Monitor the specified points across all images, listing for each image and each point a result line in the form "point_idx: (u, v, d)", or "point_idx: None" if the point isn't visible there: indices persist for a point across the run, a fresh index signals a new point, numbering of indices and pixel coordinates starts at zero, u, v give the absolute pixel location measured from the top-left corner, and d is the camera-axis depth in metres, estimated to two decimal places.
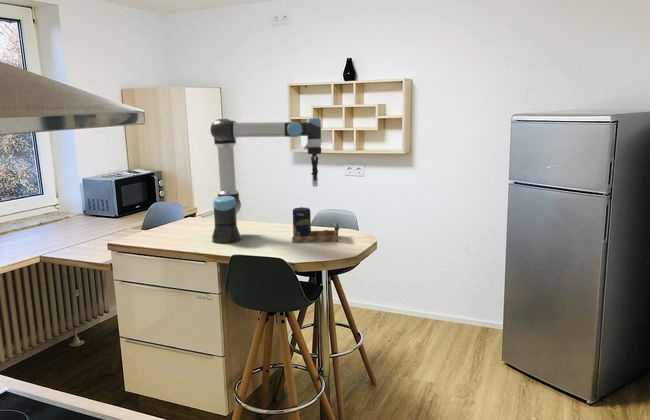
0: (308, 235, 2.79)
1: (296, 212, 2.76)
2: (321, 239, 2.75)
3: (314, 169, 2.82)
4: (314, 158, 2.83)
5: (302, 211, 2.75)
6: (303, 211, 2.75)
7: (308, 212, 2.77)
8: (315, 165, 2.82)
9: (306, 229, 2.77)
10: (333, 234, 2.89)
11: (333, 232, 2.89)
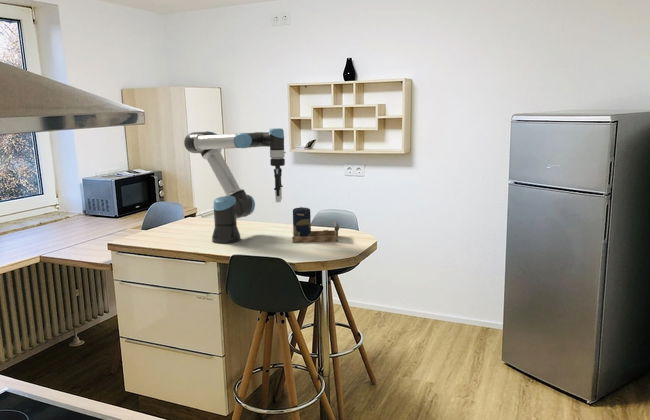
0: (308, 235, 2.79)
1: (296, 212, 2.76)
2: (321, 239, 2.75)
3: (276, 184, 2.69)
4: (276, 172, 2.69)
5: (302, 211, 2.75)
6: (303, 211, 2.75)
7: (308, 212, 2.77)
8: (277, 180, 2.69)
9: (306, 229, 2.77)
10: (333, 234, 2.89)
11: (333, 232, 2.89)
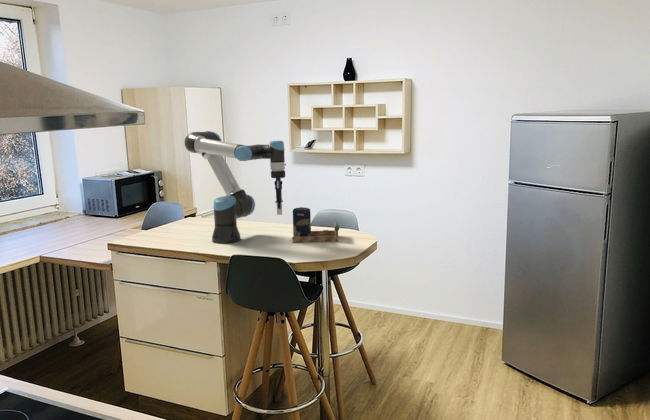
0: (308, 235, 2.79)
1: (296, 212, 2.76)
2: (321, 239, 2.75)
3: (278, 198, 2.74)
4: (277, 187, 2.71)
5: (302, 211, 2.75)
6: (303, 211, 2.75)
7: (308, 212, 2.77)
8: (278, 194, 2.73)
9: (306, 229, 2.77)
10: (333, 234, 2.89)
11: (333, 232, 2.89)
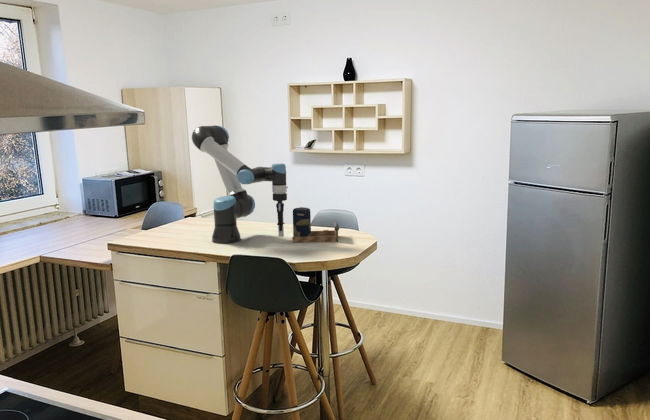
0: (308, 235, 2.79)
1: (296, 212, 2.76)
2: (321, 239, 2.75)
3: (279, 221, 2.76)
4: (279, 210, 2.73)
5: (302, 211, 2.75)
6: (303, 211, 2.75)
7: (308, 212, 2.77)
8: (280, 216, 2.75)
9: (306, 229, 2.77)
10: (333, 234, 2.89)
11: (333, 232, 2.89)
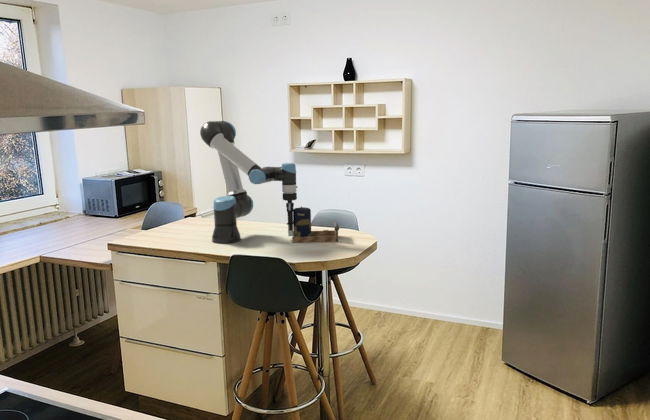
0: (308, 235, 2.79)
1: (296, 212, 2.76)
2: (321, 239, 2.75)
3: (289, 220, 2.76)
4: (289, 209, 2.73)
5: (302, 211, 2.75)
6: (303, 211, 2.75)
7: (308, 212, 2.77)
8: (290, 216, 2.75)
9: (306, 229, 2.77)
10: (333, 234, 2.89)
11: (333, 232, 2.89)
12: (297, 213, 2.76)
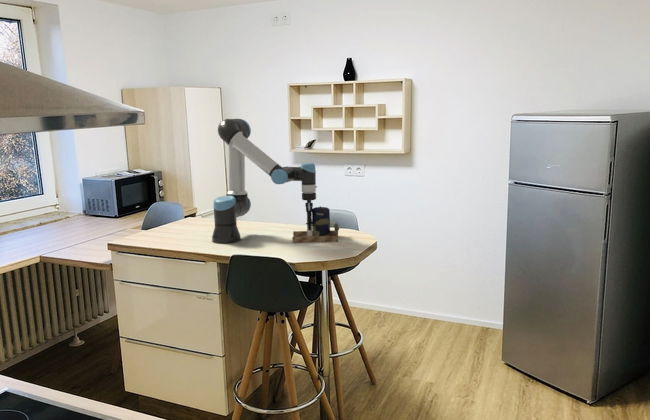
0: (327, 235, 2.79)
1: (315, 212, 2.76)
2: (321, 239, 2.75)
3: (308, 220, 2.76)
4: (308, 209, 2.74)
5: (322, 211, 2.75)
6: (323, 211, 2.75)
7: (327, 212, 2.77)
8: (309, 216, 2.75)
9: (325, 228, 2.77)
10: (333, 234, 2.89)
11: (333, 232, 2.89)
12: (316, 213, 2.76)
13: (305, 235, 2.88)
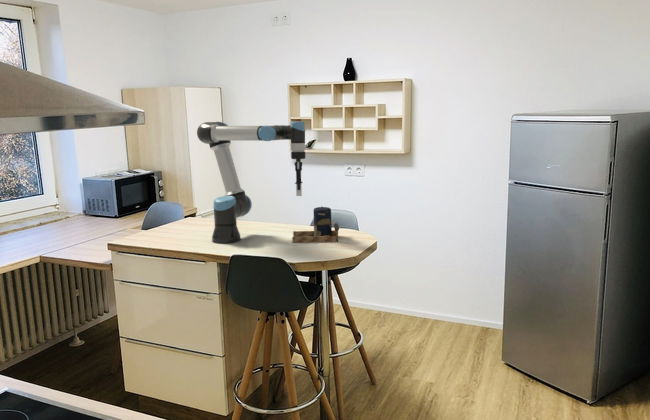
0: (329, 235, 2.79)
1: (317, 212, 2.76)
2: (321, 239, 2.75)
3: (298, 179, 2.73)
4: (297, 168, 2.70)
5: (323, 211, 2.75)
6: (324, 211, 2.75)
7: (329, 212, 2.77)
8: (299, 175, 2.72)
9: (327, 228, 2.77)
10: (333, 234, 2.89)
11: (333, 232, 2.89)
12: (318, 213, 2.76)
13: (305, 235, 2.88)
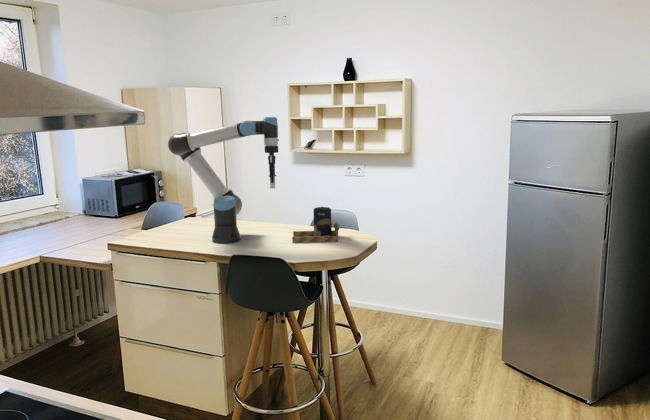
0: (329, 235, 2.79)
1: (317, 212, 2.76)
2: (321, 239, 2.75)
3: (271, 172, 2.86)
4: (270, 161, 2.83)
5: (323, 211, 2.75)
6: (324, 211, 2.75)
7: (329, 212, 2.77)
8: (272, 168, 2.85)
9: (327, 228, 2.77)
10: (333, 234, 2.89)
11: (333, 232, 2.89)
12: (318, 213, 2.76)
13: (305, 235, 2.88)
